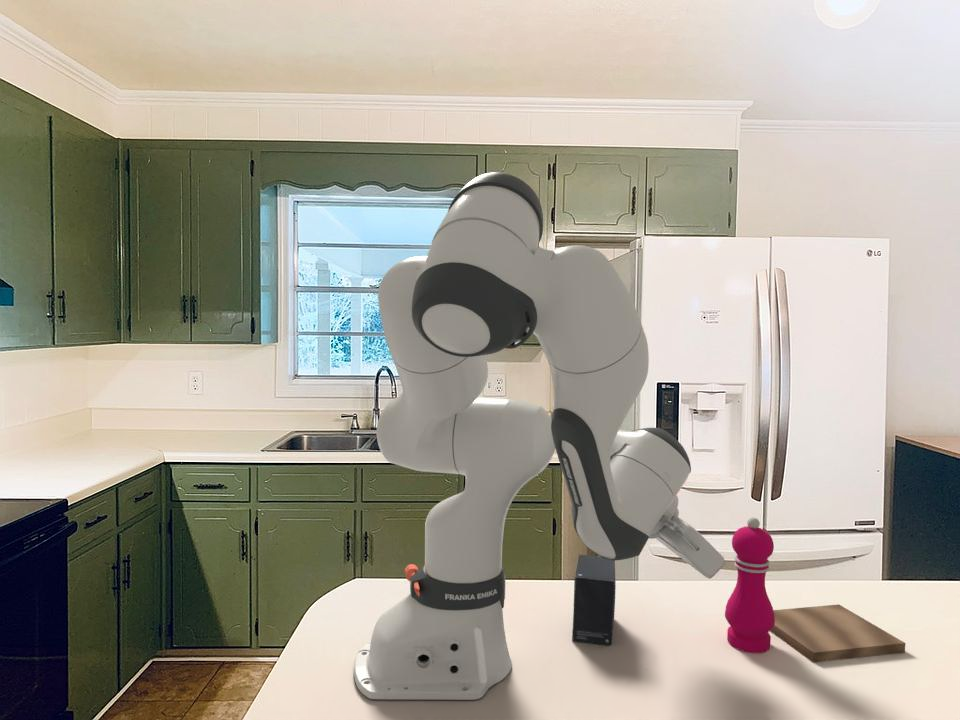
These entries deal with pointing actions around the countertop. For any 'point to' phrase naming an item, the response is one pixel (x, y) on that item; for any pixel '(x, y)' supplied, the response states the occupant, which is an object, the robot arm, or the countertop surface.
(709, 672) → the countertop surface
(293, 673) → the countertop surface
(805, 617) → the walnut board
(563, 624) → the countertop surface
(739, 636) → the pepper mill
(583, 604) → the small box
